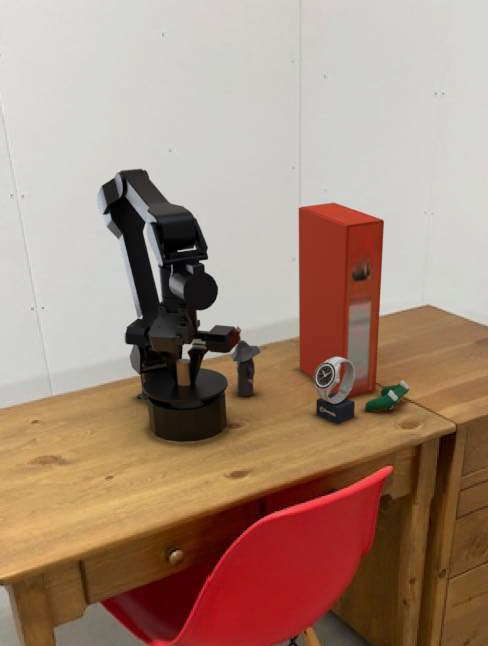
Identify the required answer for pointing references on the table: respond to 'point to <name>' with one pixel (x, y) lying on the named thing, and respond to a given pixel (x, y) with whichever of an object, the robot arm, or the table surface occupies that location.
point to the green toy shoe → (388, 397)
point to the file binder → (340, 291)
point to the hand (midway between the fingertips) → (185, 383)
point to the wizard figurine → (245, 366)
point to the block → (186, 405)
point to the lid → (185, 385)
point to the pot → (187, 420)
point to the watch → (334, 404)
